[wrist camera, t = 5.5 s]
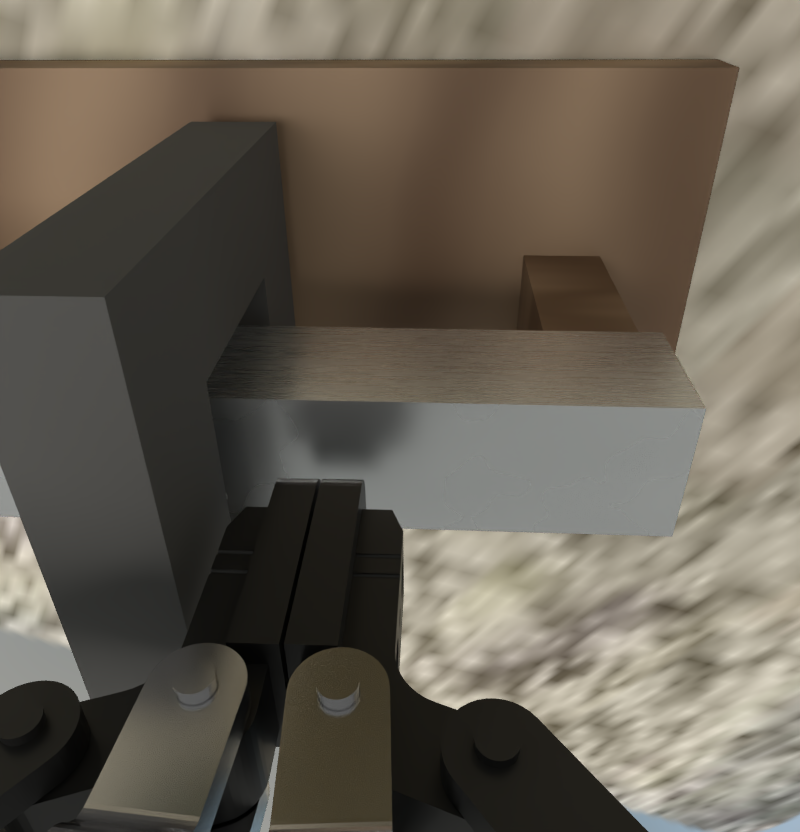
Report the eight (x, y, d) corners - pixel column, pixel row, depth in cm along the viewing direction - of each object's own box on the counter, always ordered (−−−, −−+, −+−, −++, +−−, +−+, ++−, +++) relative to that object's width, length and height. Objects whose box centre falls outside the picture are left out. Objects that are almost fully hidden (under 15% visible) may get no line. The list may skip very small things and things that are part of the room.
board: (718, 59, 18) (827, 103, 13) (634, 455, 24) (684, 588, 19) (-292, 60, 19) (-560, 100, 14) (-112, 437, 25) (-250, 557, 20)
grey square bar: (662, 316, 15) (713, 404, 12) (633, 451, 17) (672, 554, 14) (-410, 299, 16) (-597, 376, 13) (-325, 427, 18) (-472, 519, 15)
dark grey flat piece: (276, 121, 17) (104, 296, 8) (308, 468, 22) (226, 787, 14) (190, 121, 17) (-66, 293, 8) (244, 466, 22) (122, 782, 14)
